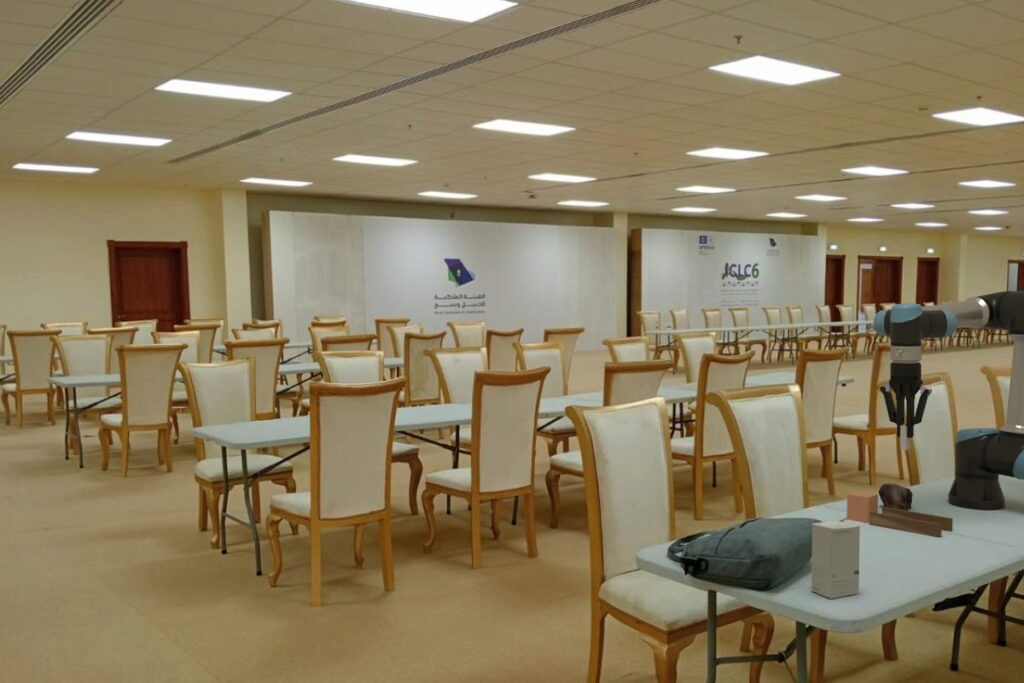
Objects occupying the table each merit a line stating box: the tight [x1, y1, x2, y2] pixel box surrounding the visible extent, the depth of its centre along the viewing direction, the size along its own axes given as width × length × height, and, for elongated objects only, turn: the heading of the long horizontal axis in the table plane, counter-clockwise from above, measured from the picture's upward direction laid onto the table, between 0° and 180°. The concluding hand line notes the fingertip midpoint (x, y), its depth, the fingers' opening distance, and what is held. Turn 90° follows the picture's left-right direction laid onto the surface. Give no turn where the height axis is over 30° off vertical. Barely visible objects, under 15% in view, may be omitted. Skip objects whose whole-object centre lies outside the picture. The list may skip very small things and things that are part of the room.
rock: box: [878, 483, 914, 511], centre depth 251 cm, size 12×9×10 cm
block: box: [846, 490, 879, 524], centre depth 239 cm, size 6×6×7 cm
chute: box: [839, 506, 954, 539], centre depth 233 cm, size 12×26×4 cm, turn 45°
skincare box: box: [810, 520, 861, 600], centre depth 183 cm, size 8×6×15 cm
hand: (905, 449), depth 231 cm, fingers closed
